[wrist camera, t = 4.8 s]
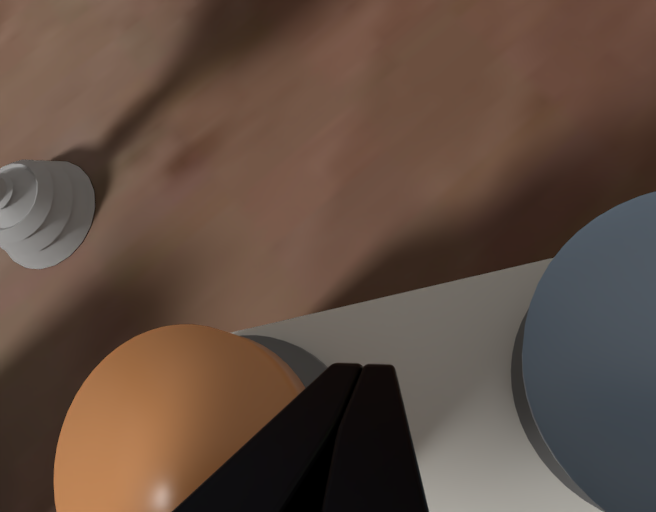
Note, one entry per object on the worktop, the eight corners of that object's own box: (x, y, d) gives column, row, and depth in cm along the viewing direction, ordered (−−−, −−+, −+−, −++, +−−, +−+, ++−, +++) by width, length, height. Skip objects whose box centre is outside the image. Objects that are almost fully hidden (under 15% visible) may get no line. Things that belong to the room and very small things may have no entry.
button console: (670, 282, 19) (755, 206, 12) (740, 481, 17) (885, 520, 11) (246, 373, 23) (129, 352, 16) (268, 548, 21) (147, 611, 14)
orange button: (377, 547, 13) (340, 582, 10) (160, 605, 14) (72, 651, 11) (312, 312, 14) (265, 287, 12) (122, 379, 15) (39, 370, 13)
